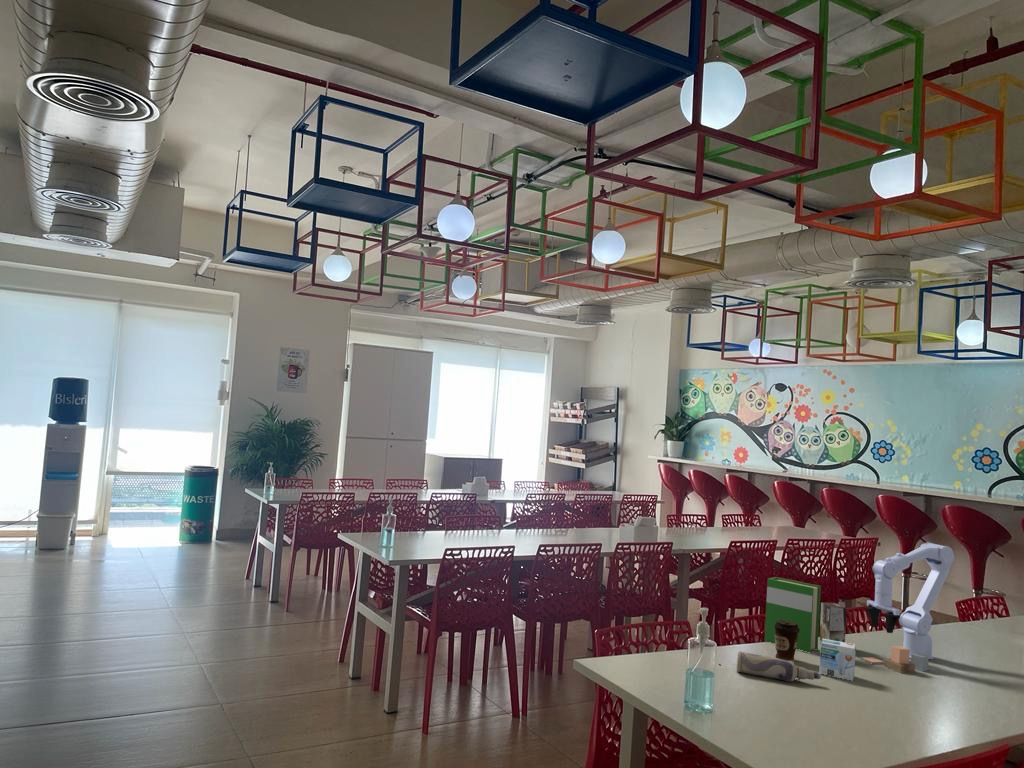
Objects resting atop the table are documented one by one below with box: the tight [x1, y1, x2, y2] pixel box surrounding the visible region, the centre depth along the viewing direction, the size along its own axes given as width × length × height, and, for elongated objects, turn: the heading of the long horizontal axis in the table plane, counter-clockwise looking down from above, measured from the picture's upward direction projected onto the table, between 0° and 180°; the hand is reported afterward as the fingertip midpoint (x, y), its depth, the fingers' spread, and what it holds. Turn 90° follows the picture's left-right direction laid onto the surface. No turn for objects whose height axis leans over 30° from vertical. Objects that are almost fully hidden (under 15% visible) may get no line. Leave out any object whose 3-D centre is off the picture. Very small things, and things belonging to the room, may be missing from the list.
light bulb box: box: [818, 638, 856, 682], centre depth 246 cm, size 11×7×11 cm, turn 62°
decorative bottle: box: [736, 650, 822, 683], centre depth 237 cm, size 26×8×7 cm, turn 69°
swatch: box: [857, 656, 884, 665], centre depth 266 cm, size 7×7×1 cm
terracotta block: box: [890, 645, 910, 664], centre depth 258 cm, size 4×4×5 cm
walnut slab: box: [882, 658, 916, 674], centre depth 258 cm, size 7×7×3 cm
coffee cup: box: [774, 620, 800, 662], centre depth 260 cm, size 9×8×13 cm
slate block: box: [910, 653, 929, 672], centre depth 260 cm, size 4×4×5 cm
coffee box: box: [819, 601, 847, 644], centre depth 282 cm, size 9×6×16 cm
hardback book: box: [763, 576, 822, 653], centre depth 280 cm, size 18×7×24 cm, turn 45°
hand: (882, 629), depth 273 cm, fingers open, 7 cm apart
